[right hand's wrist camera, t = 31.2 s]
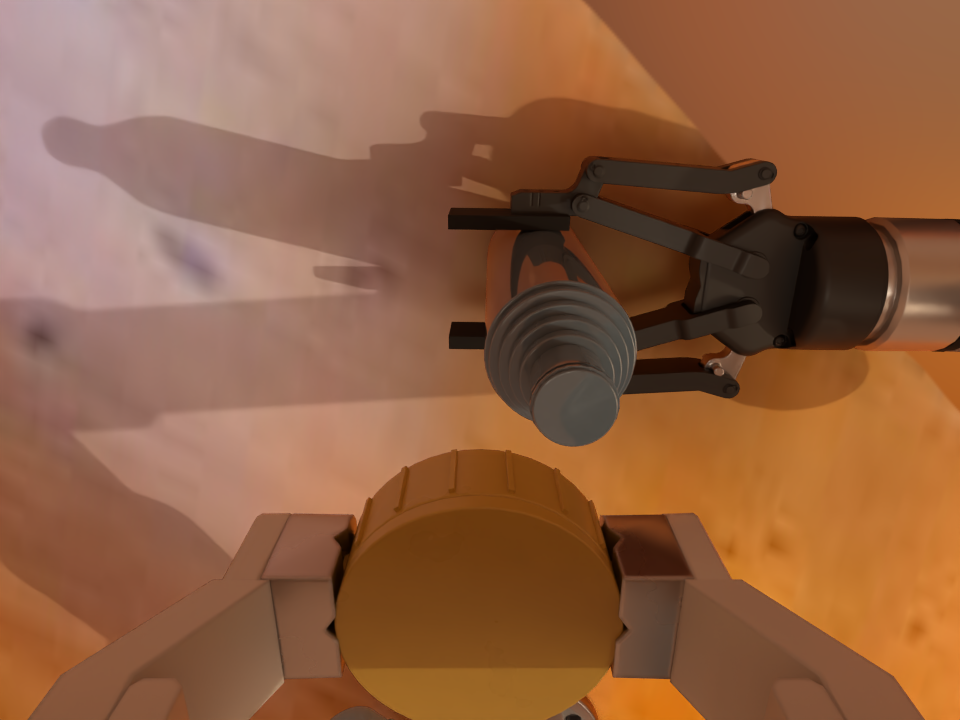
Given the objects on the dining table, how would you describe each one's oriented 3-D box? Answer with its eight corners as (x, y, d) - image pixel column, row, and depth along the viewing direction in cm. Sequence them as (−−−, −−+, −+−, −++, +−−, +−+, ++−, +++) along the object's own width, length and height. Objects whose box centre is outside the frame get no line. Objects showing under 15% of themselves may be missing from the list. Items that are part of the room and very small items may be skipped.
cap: (344, 443, 10) (320, 503, 8) (617, 448, 10) (641, 507, 8) (358, 653, 11) (341, 733, 10) (595, 655, 11) (612, 735, 10)
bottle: (589, 219, 42) (694, 340, 20) (567, 308, 44) (640, 502, 22) (497, 202, 41) (502, 304, 20) (479, 292, 44) (467, 473, 22)
